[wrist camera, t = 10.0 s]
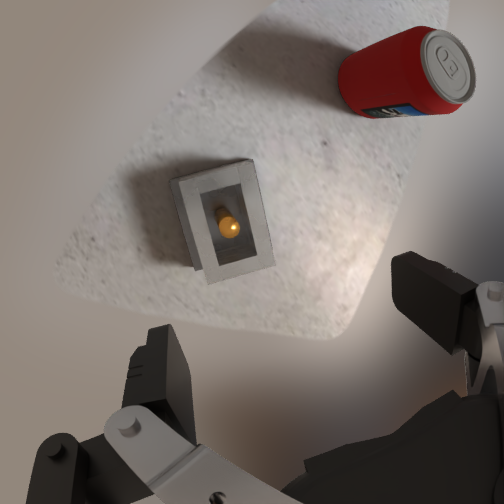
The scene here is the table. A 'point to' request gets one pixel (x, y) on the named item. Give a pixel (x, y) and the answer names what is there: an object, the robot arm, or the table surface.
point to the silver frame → (249, 197)
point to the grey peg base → (214, 217)
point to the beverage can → (408, 75)
